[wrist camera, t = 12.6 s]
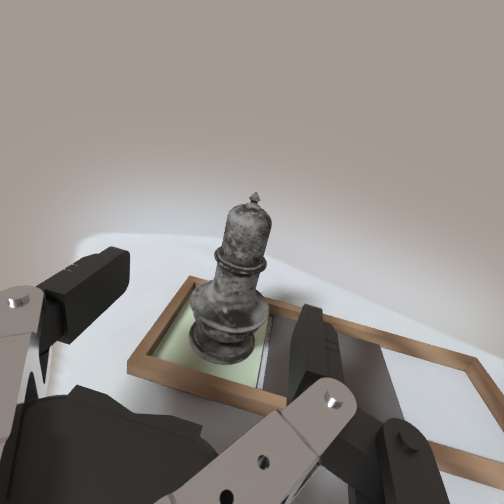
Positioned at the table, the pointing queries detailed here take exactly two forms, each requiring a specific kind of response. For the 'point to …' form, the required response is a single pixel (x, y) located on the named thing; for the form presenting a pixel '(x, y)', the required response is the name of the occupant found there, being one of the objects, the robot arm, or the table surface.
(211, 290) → the salt shaker
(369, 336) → the tray
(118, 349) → the table surface
